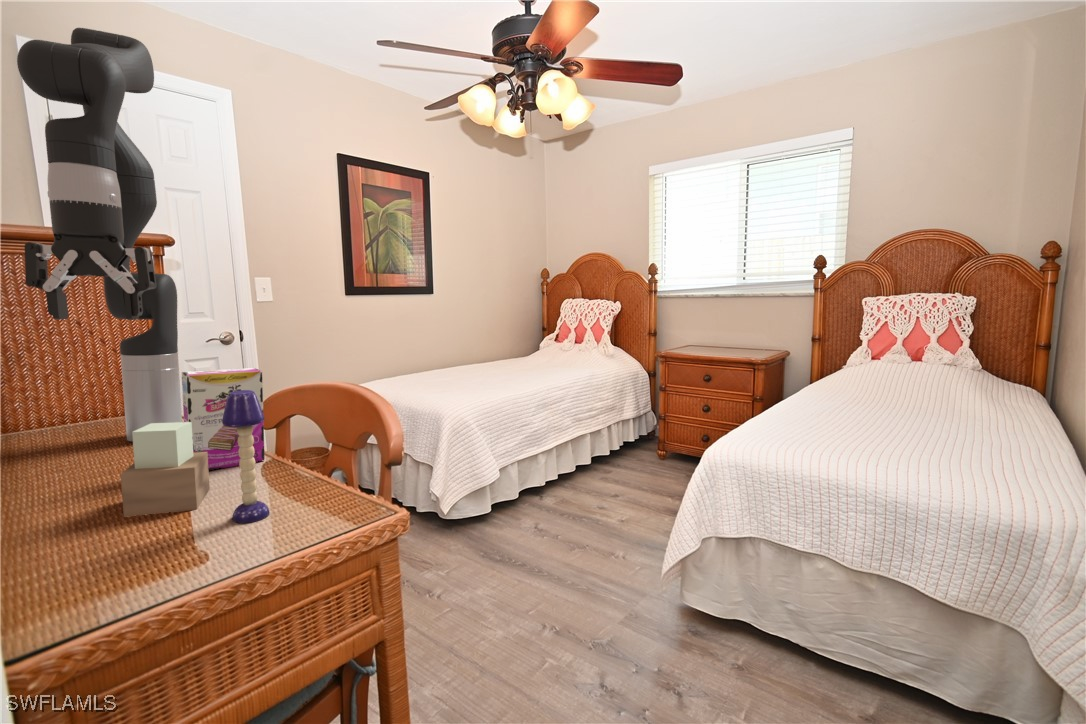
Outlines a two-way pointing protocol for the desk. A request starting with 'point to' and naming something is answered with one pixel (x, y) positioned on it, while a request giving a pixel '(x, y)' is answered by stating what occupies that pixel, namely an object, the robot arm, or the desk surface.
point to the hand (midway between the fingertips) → (97, 319)
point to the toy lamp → (246, 451)
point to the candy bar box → (219, 413)
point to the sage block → (162, 445)
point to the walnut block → (165, 487)
